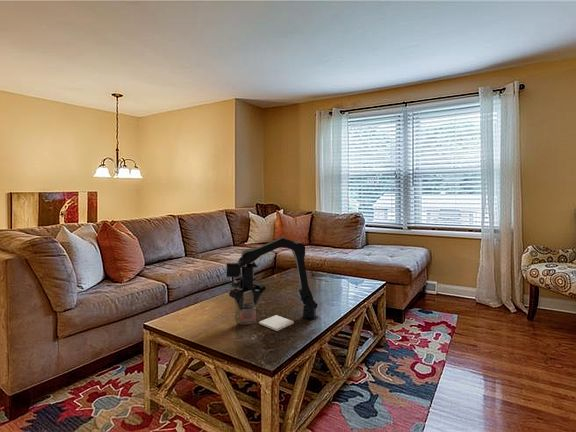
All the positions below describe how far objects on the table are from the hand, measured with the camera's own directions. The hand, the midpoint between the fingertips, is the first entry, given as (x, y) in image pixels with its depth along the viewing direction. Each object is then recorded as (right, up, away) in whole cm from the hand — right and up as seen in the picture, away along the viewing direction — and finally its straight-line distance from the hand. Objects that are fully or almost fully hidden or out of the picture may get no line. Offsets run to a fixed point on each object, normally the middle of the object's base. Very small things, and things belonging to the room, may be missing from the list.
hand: (247, 307), depth 169 cm
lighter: (0, -8, +1) cm, 8 cm away
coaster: (+14, -8, 0) cm, 16 cm away
